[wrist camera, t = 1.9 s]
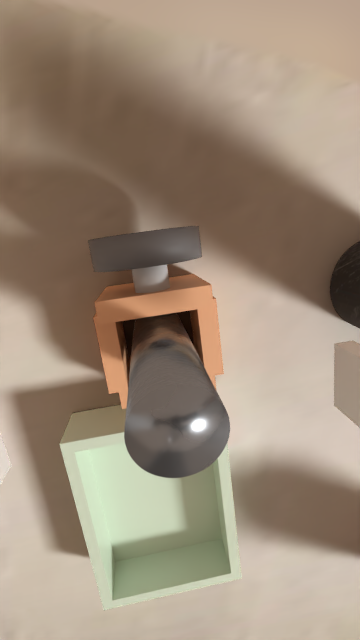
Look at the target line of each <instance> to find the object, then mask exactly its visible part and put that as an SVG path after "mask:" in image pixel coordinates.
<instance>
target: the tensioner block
mask: <svg viewBox="0 0 360 640" xmlns="http://www.w3.org/2000/svg"><path fill="white" fill-rule="evenodd" d="M88 243H89V248H90V253H91V258H92V263H93V268H94V272H111V271H122V270H131V269H132V275H133V281H134V283H128V284H121V285H115V286H108V287H106V288H105V290H104V291H103V292H102V293H101V295H100V296H99V297H98V298H97V300H96V301H95V302H94V303H95V308H96V314H95V315H94V317H93V319H94V324H95V329H96V334H97V338H98V343H99V348H100V353H101V357H102V362H103V367H104V372H105V377H106V381H107V386H108V391H109V394H111V393H117V392H119V396H120V401H121V406H122V409H125V408H126V407H127V396H128V385H129V375H130V361H129V356H128V350H127V345H126V340H125V334H124V329H123V324H122V321H125V320H131V319H137V318H144V317H150V316H157V315H163V314H170V313H176V312H182V311H189V310H190V318H191V326H192V334H193V341H194V348H195V350H196V352H197V354H198V356H199V358H200V360H201V362H202V364H203V366H204V367H205V369H206V371H207V373H208V375H209V377H210V379H211V381H212V383H213V385H214V387H215V389H216V383H215V375H220V374H224V372H223V363H222V353H221V343H220V333H219V324H218V314H217V304H216V298H214V297H213V296H212V287H211V284H209V283H207V282H206V281H204V280H202V279H201V278H199V277H197V276H196V275H194V274H190V275H183V276H176V277H169V276H168V269H167V264H172V263H178V262H183V261H188V260H192V259H196V258H200V257H202V252H201V243H200V234H199V226H188V227H178V228H169V229H161V230H153V231H146V232H138V233H131V234H124V235H117V236H110V237H104V238H98V239H93V240H89V241H88Z"/></svg>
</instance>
